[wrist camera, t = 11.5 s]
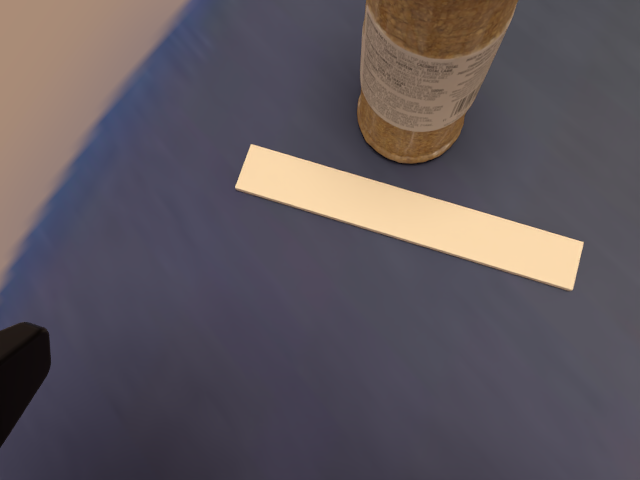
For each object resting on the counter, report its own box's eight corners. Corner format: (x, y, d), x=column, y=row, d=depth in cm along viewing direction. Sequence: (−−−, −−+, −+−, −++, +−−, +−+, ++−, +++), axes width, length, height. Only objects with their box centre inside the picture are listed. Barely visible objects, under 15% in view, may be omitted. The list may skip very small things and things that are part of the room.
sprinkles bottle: (413, 49, 26) (482, -282, 13) (485, 122, 25) (638, -156, 12) (333, 113, 26) (323, -167, 13) (404, 190, 25) (474, -27, 12)
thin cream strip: (569, 291, 24) (572, 290, 23) (236, 189, 25) (235, 187, 25) (580, 243, 24) (583, 242, 24) (252, 146, 25) (251, 144, 25)
